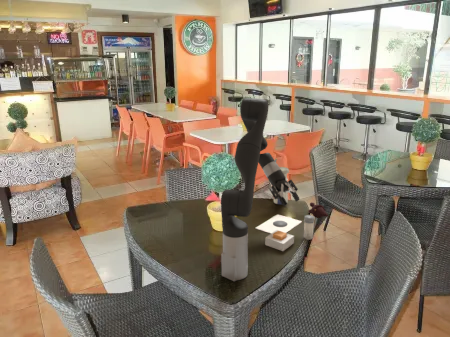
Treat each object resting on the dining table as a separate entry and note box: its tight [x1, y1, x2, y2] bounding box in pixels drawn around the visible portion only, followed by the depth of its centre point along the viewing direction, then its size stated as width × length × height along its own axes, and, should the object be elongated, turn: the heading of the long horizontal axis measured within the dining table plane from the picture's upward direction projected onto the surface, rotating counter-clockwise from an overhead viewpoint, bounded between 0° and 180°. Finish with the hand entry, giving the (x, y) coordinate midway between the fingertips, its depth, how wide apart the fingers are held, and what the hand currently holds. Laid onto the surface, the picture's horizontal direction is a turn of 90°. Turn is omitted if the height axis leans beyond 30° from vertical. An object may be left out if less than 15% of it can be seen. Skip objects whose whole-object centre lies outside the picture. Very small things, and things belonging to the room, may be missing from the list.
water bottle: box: [273, 157, 290, 206], centre depth 206 cm, size 8×9×25 cm
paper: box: [255, 213, 303, 235], centre depth 181 cm, size 20×14×1 cm
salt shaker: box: [303, 214, 315, 241], centre depth 167 cm, size 4×4×10 cm
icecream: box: [308, 201, 329, 219], centre depth 188 cm, size 7×7×15 cm
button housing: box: [264, 230, 295, 252], centre depth 162 cm, size 9×9×4 cm
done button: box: [273, 231, 288, 241], centre depth 162 cm, size 4×4×2 cm
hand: (292, 202), depth 172 cm, fingers open, 8 cm apart
